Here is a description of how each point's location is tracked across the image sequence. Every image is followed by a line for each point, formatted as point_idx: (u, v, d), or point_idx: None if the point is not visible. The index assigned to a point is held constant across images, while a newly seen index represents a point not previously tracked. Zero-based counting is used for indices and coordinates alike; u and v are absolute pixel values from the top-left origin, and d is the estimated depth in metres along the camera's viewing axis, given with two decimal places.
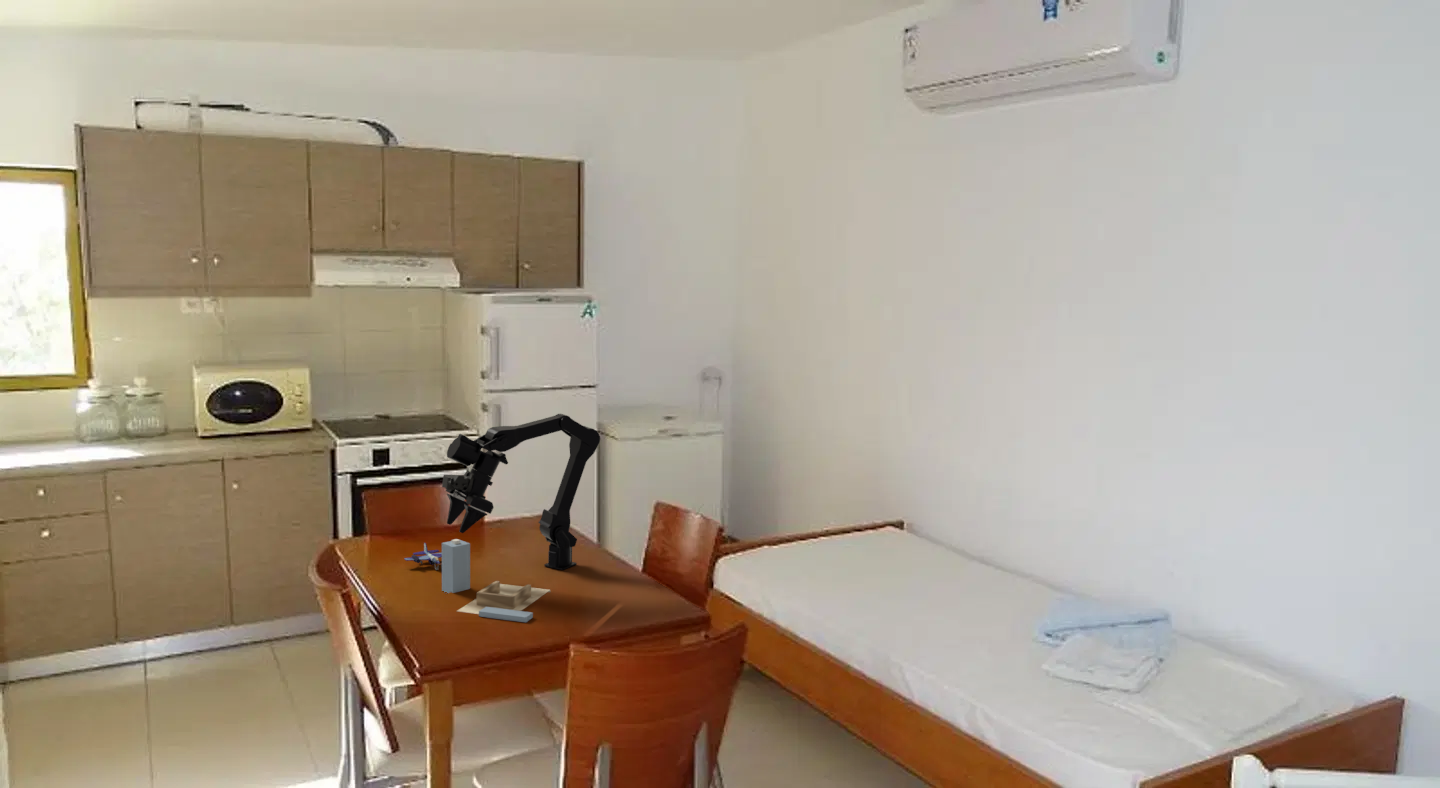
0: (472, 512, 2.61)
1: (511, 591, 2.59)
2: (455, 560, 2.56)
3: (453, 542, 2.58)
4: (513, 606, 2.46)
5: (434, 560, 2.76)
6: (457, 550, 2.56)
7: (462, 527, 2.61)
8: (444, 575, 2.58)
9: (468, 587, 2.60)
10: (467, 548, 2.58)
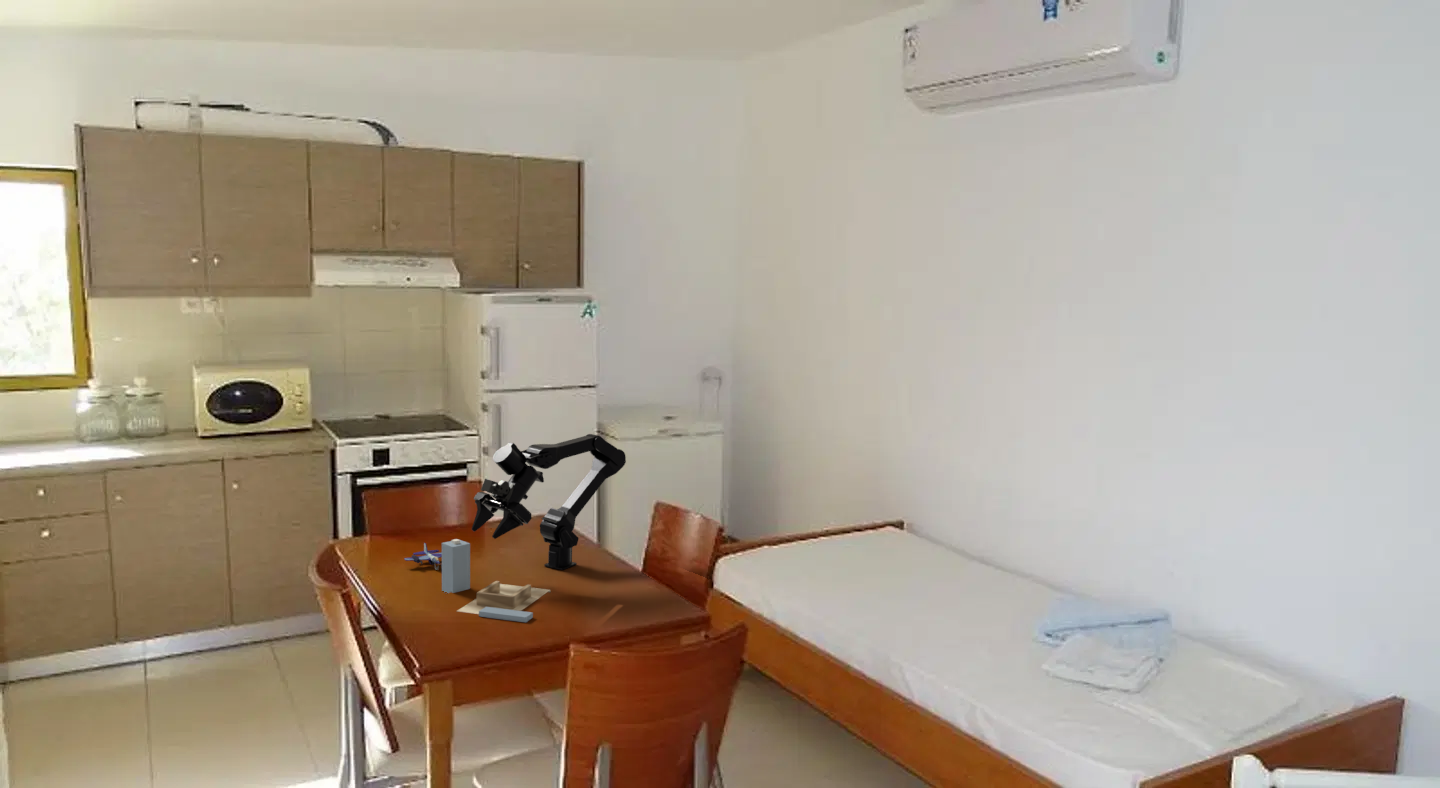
0: (509, 519, 2.62)
1: (511, 591, 2.59)
2: (455, 560, 2.56)
3: (453, 542, 2.58)
4: (513, 606, 2.46)
5: (434, 560, 2.76)
6: (457, 550, 2.56)
7: (496, 532, 2.61)
8: (444, 575, 2.58)
9: (468, 587, 2.60)
10: (467, 548, 2.58)
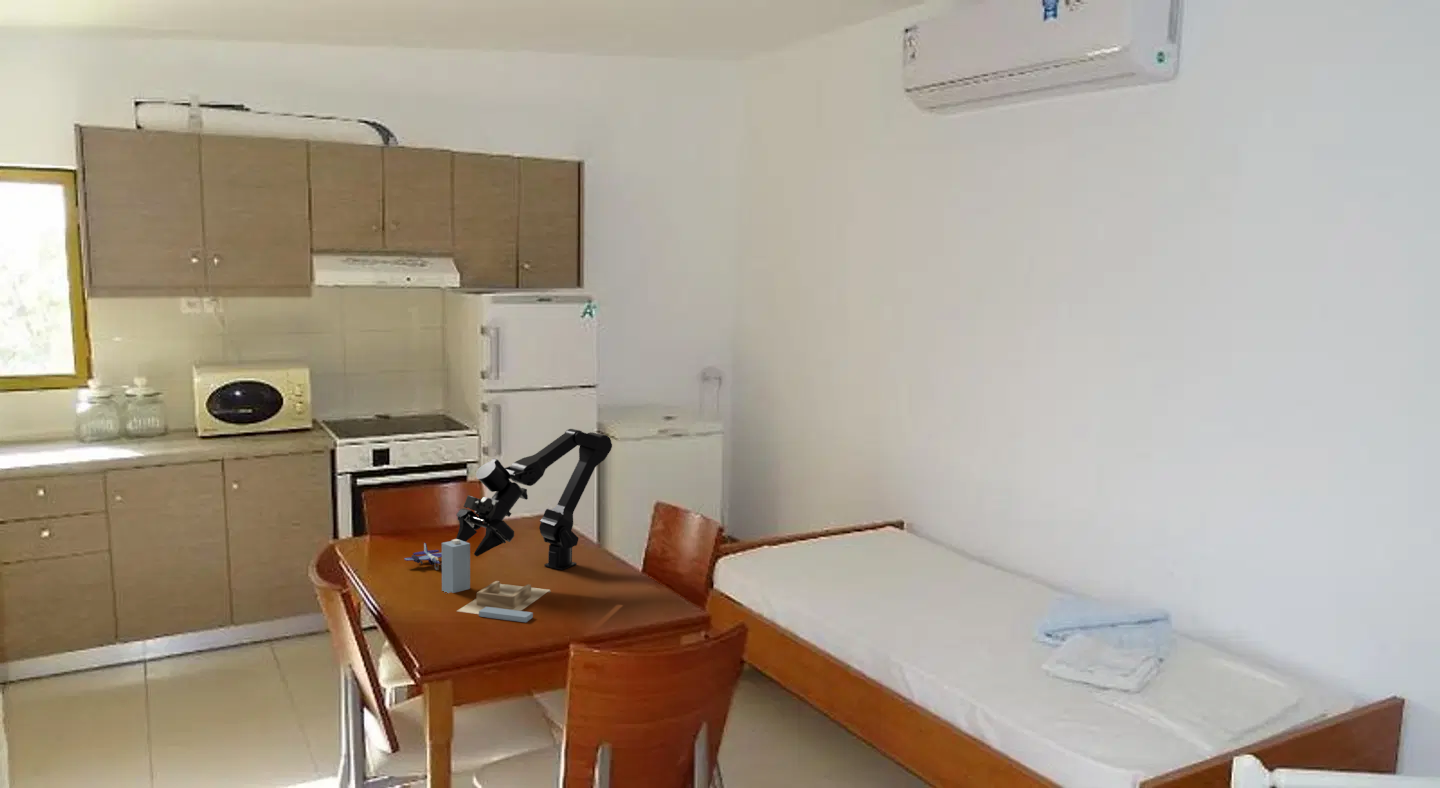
0: (491, 537, 2.59)
1: (511, 591, 2.59)
2: (455, 560, 2.56)
3: (453, 542, 2.58)
4: (513, 606, 2.46)
5: (434, 560, 2.76)
6: (457, 550, 2.56)
7: (478, 550, 2.57)
8: (444, 575, 2.58)
9: (468, 587, 2.60)
10: (467, 548, 2.58)
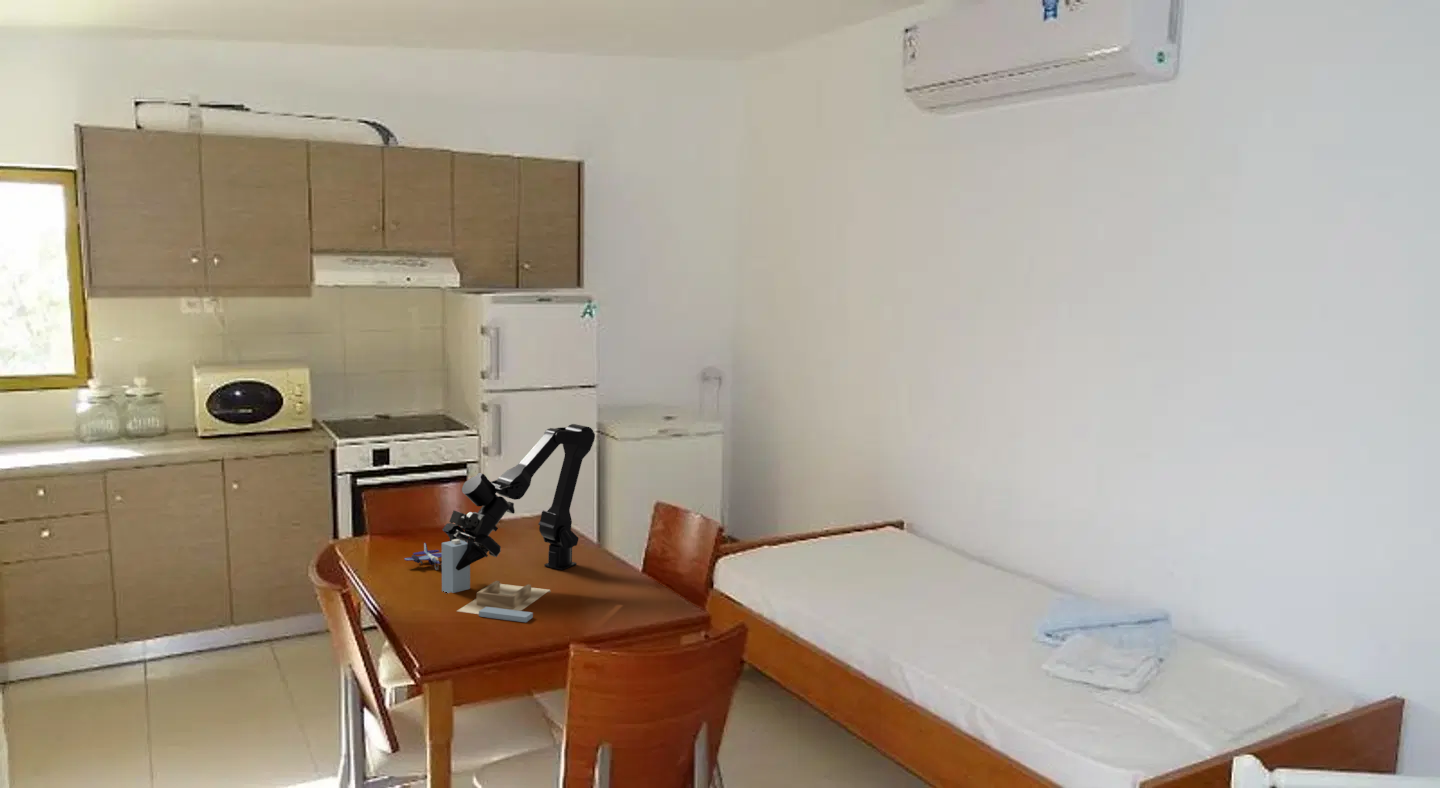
0: (473, 551, 2.58)
1: (511, 591, 2.59)
2: (455, 560, 2.56)
3: (453, 542, 2.58)
4: (513, 606, 2.46)
5: (434, 560, 2.76)
6: (457, 550, 2.56)
7: (460, 564, 2.56)
8: (444, 575, 2.58)
9: (468, 587, 2.60)
10: None
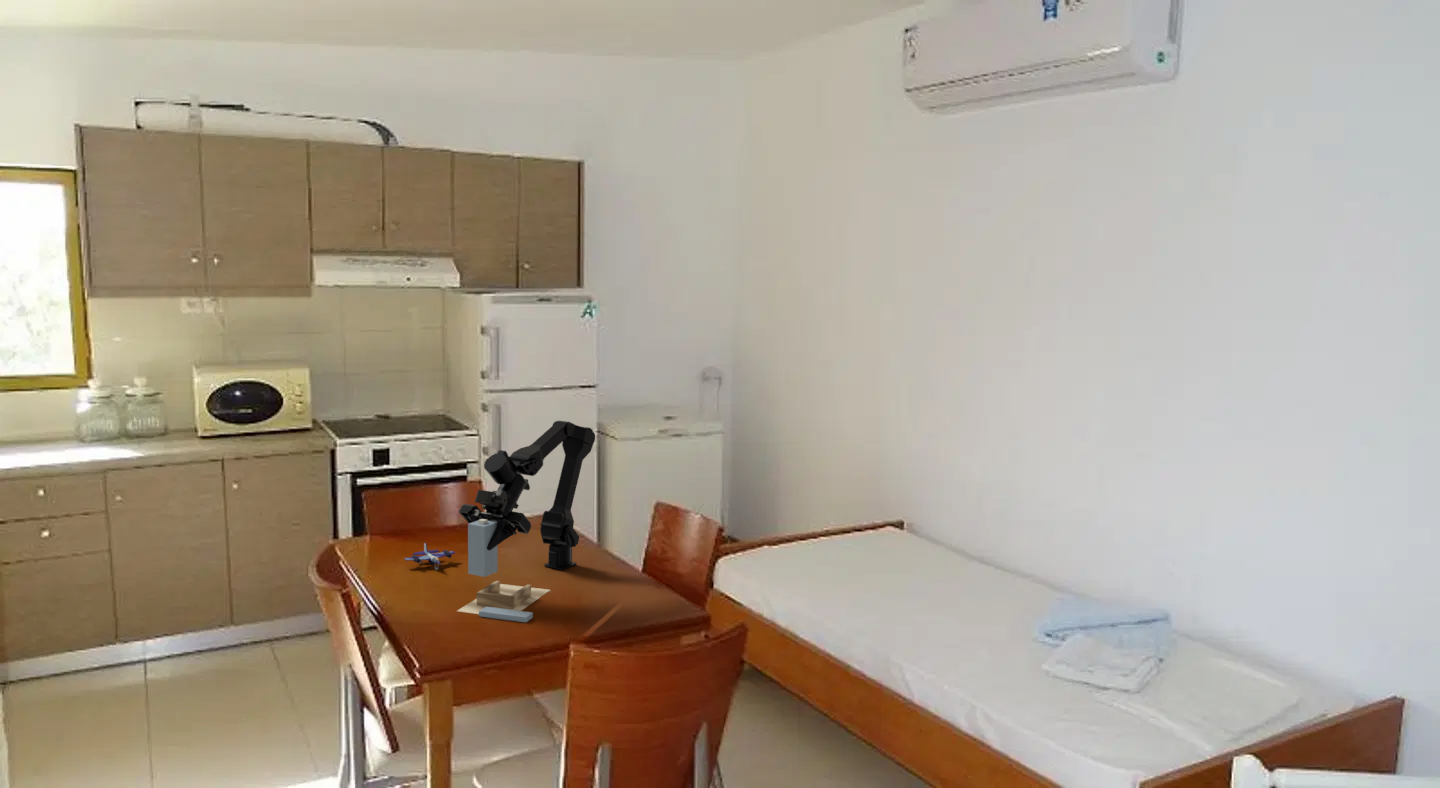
0: (502, 529, 2.53)
1: (511, 591, 2.59)
2: (486, 539, 2.50)
3: (481, 522, 2.51)
4: (513, 606, 2.46)
5: (434, 560, 2.76)
6: (487, 529, 2.50)
7: (491, 544, 2.50)
8: (472, 556, 2.51)
9: (496, 567, 2.54)
10: (495, 527, 2.52)
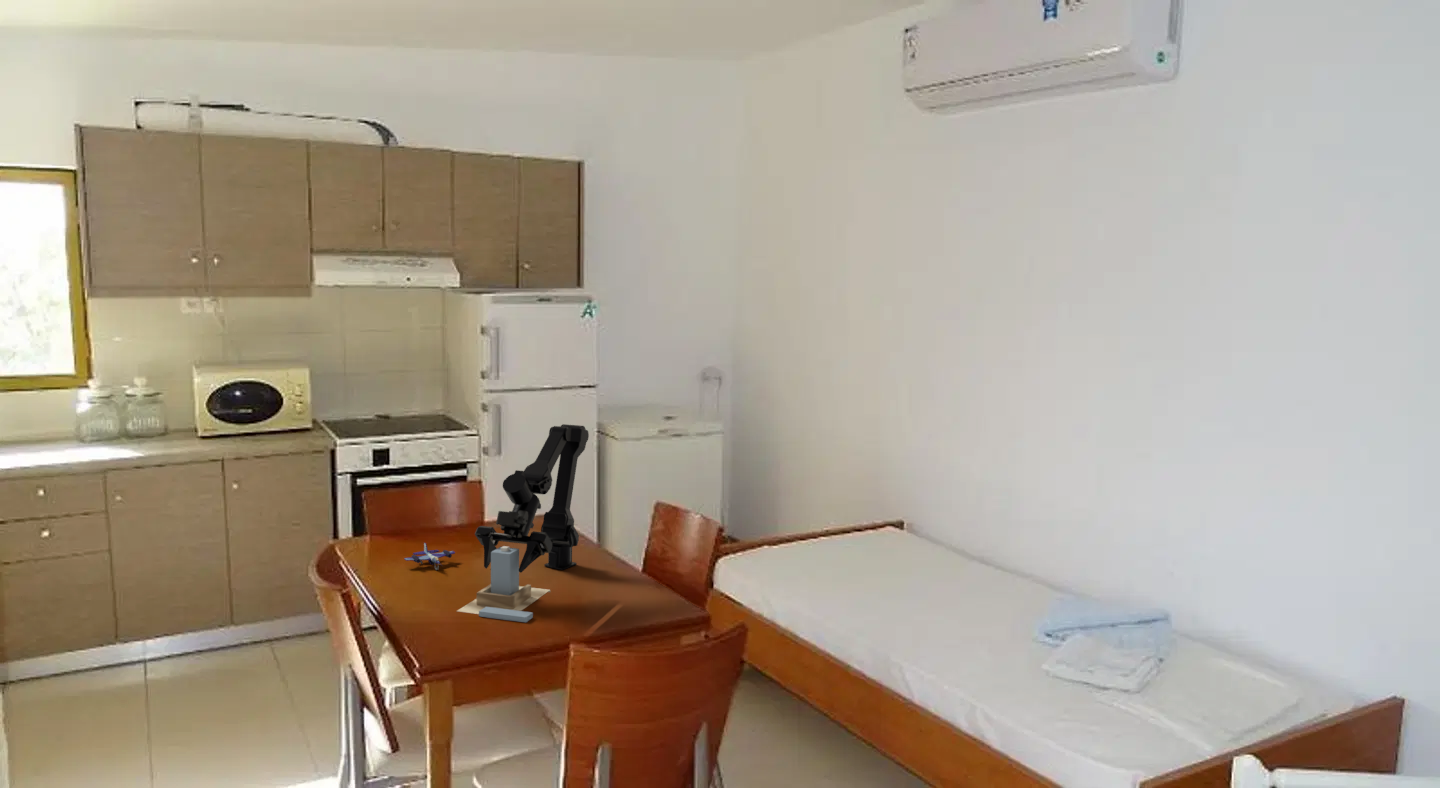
0: (531, 551, 2.52)
1: None
2: (511, 567, 2.49)
3: (504, 549, 2.50)
4: (513, 606, 2.46)
5: (434, 560, 2.76)
6: (512, 556, 2.49)
7: (523, 566, 2.49)
8: (495, 584, 2.49)
9: None
10: (517, 554, 2.52)
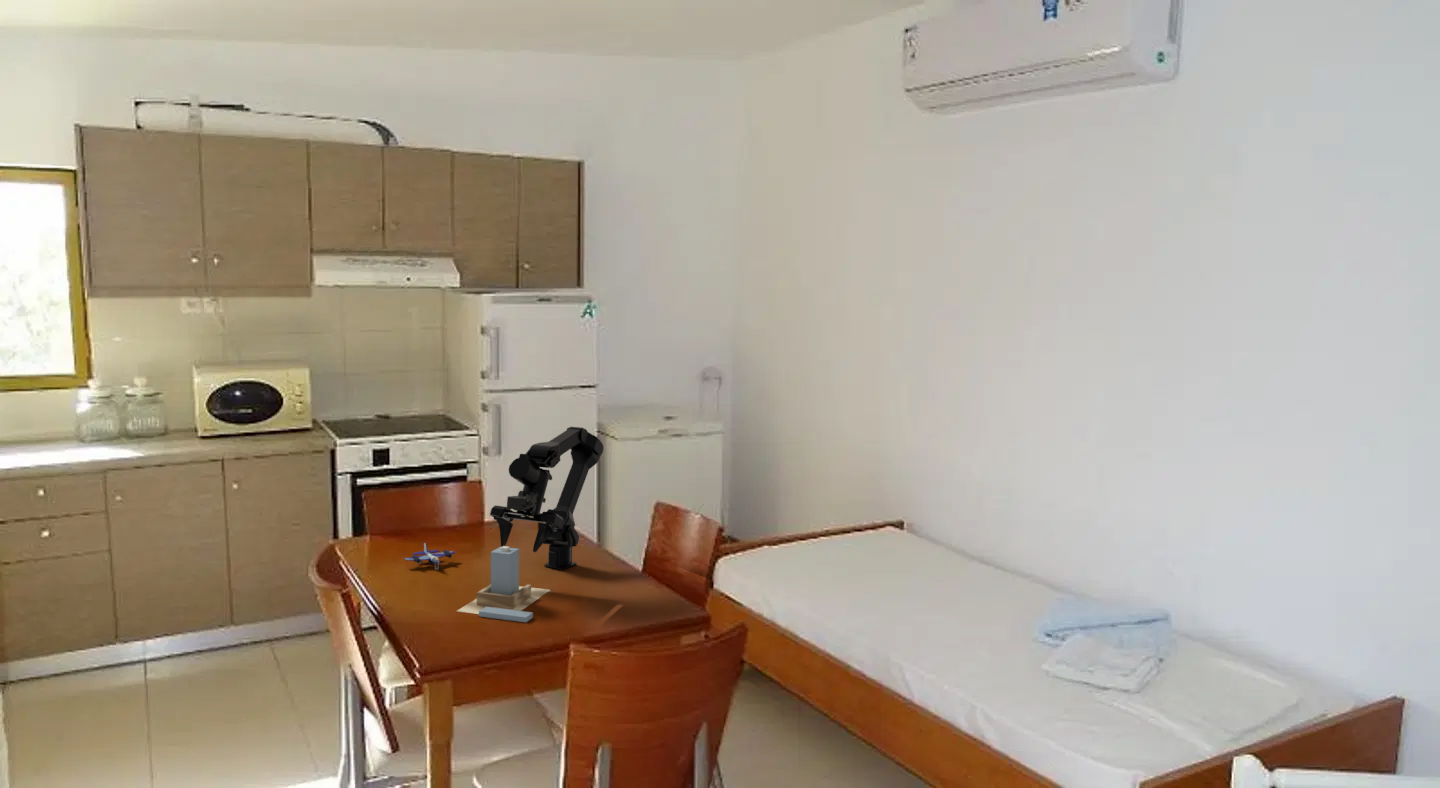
0: (543, 530, 2.62)
1: None
2: (511, 567, 2.49)
3: (504, 549, 2.50)
4: (513, 606, 2.46)
5: (434, 560, 2.76)
6: (512, 556, 2.49)
7: (536, 546, 2.60)
8: (495, 584, 2.49)
9: None
10: (517, 554, 2.52)
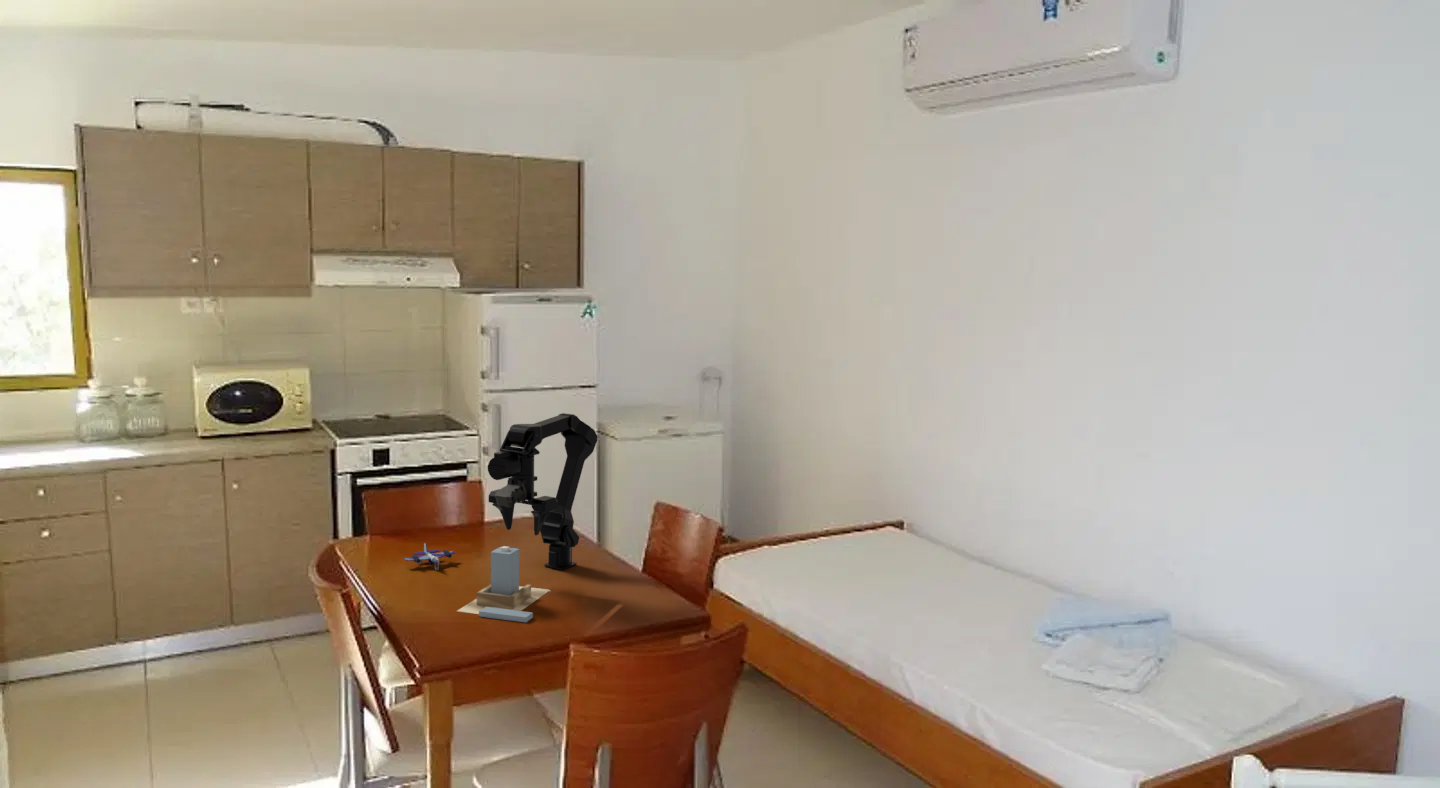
0: (539, 514, 2.65)
1: None
2: (511, 567, 2.49)
3: (504, 549, 2.50)
4: (513, 606, 2.46)
5: (434, 560, 2.76)
6: (512, 556, 2.49)
7: (537, 530, 2.65)
8: (495, 584, 2.49)
9: None
10: (517, 554, 2.52)
